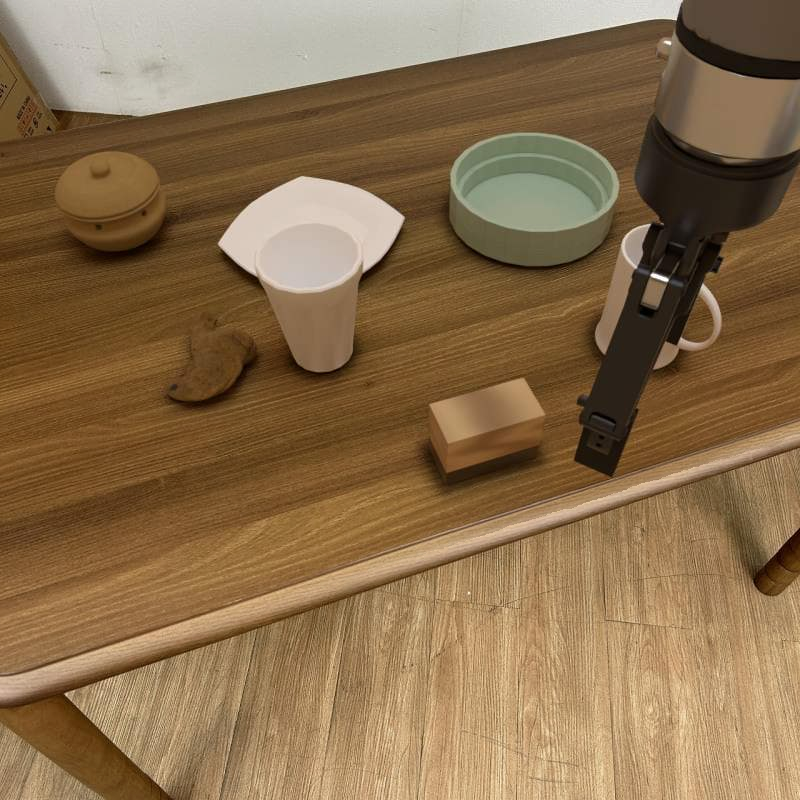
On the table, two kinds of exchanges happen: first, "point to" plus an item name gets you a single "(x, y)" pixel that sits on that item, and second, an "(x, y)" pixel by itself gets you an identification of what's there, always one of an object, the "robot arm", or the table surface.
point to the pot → (111, 200)
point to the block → (485, 430)
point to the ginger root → (212, 360)
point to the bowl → (532, 198)
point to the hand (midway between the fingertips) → (629, 396)
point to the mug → (619, 291)
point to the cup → (313, 289)
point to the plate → (313, 218)
